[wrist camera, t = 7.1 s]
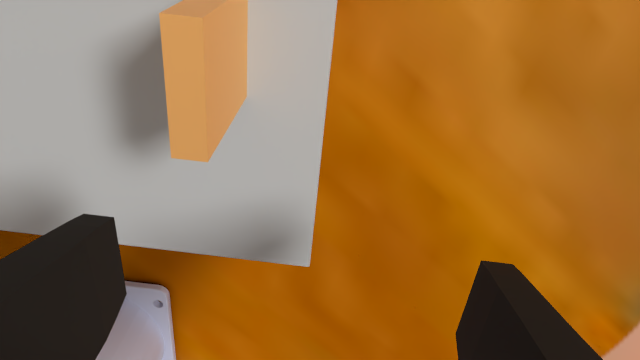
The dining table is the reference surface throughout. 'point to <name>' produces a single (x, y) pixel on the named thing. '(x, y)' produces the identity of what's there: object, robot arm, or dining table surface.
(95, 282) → the robot arm
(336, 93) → the dining table surface
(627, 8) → the dining table surface
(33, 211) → the carton lid
